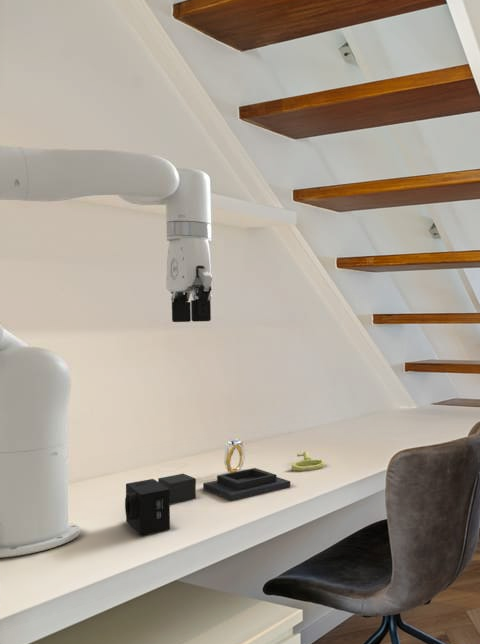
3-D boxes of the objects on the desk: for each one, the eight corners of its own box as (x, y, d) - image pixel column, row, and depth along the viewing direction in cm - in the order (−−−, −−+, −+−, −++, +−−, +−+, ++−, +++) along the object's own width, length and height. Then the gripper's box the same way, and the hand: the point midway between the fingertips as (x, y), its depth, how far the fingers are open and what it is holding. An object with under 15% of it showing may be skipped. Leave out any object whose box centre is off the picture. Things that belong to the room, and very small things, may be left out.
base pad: (231, 500, 116) (231, 487, 116) (203, 488, 125) (203, 476, 125) (290, 486, 125) (290, 474, 125) (259, 476, 134) (259, 464, 134)
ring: (238, 469, 142) (237, 435, 142) (250, 469, 141) (250, 435, 141) (219, 477, 135) (218, 441, 135) (232, 477, 134) (231, 442, 134)
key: (307, 458, 151) (307, 450, 151) (327, 467, 142) (327, 458, 142) (278, 464, 146) (278, 455, 146) (297, 473, 137) (297, 464, 137)
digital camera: (117, 524, 104) (117, 484, 104) (153, 516, 108) (153, 477, 108) (131, 538, 96) (131, 495, 96) (169, 529, 100) (169, 488, 100)
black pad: (170, 504, 115) (170, 483, 115) (158, 498, 119) (158, 478, 119) (195, 498, 118) (195, 478, 118) (183, 492, 122) (183, 473, 122)
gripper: (151, 236, 117) (153, 322, 117) (185, 226, 106) (187, 321, 106) (192, 239, 123) (194, 321, 123) (228, 230, 112) (230, 320, 112)
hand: (191, 321), depth 114 cm, fingers open, 9 cm apart
